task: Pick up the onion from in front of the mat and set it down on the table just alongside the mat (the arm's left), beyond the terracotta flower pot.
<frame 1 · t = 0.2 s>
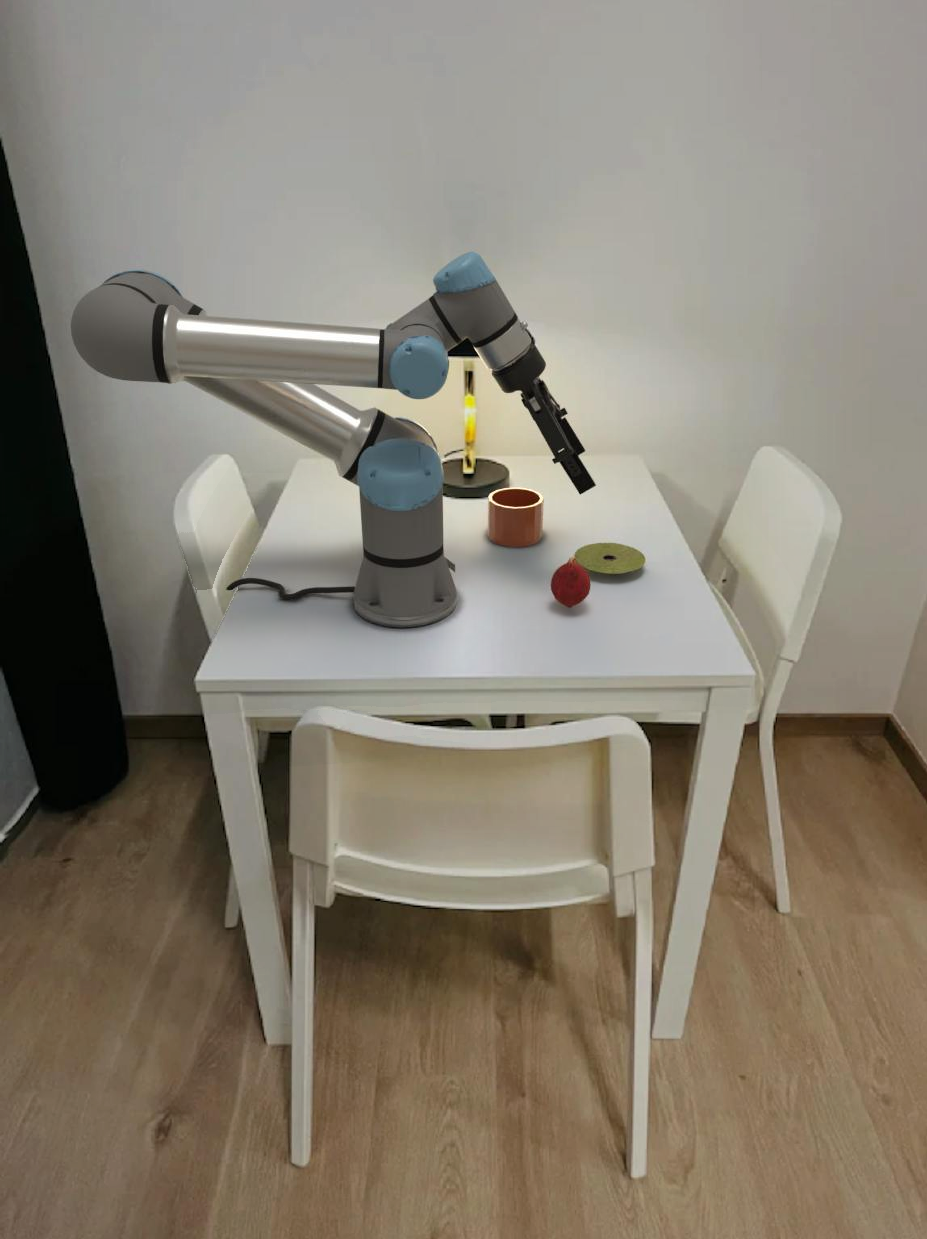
hand: (582, 471, 142), 15 cm above the table, tool tilted 35°, fingers open, 13 cm apart
onion: (569, 608, 135), on the table
mat: (608, 568, 146), on the table
flower pot: (514, 535, 157), on the table
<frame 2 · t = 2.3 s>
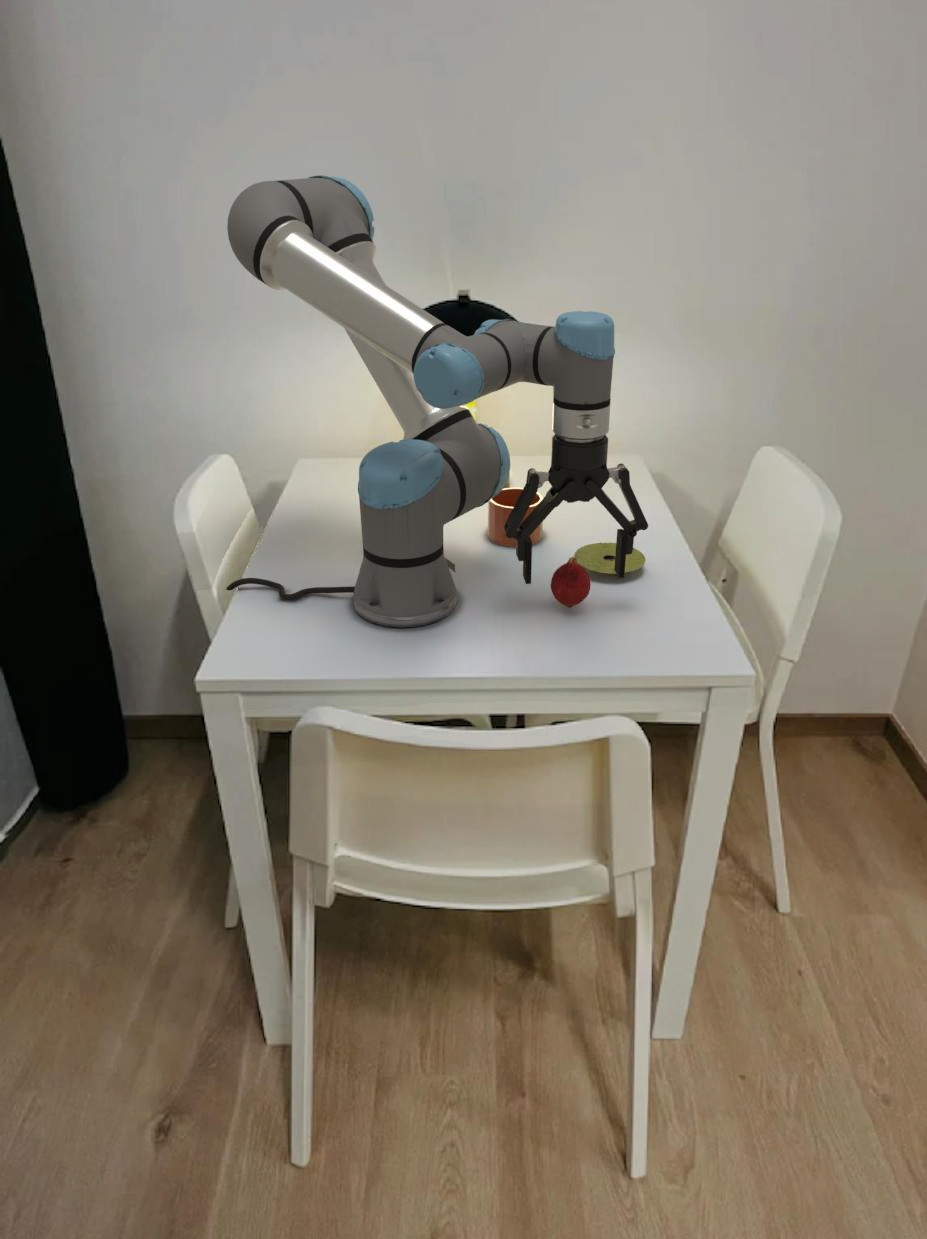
hand: (573, 577, 132), 5 cm above the table, tool pointing down, fingers open, 13 cm apart
nothing on the table moved.
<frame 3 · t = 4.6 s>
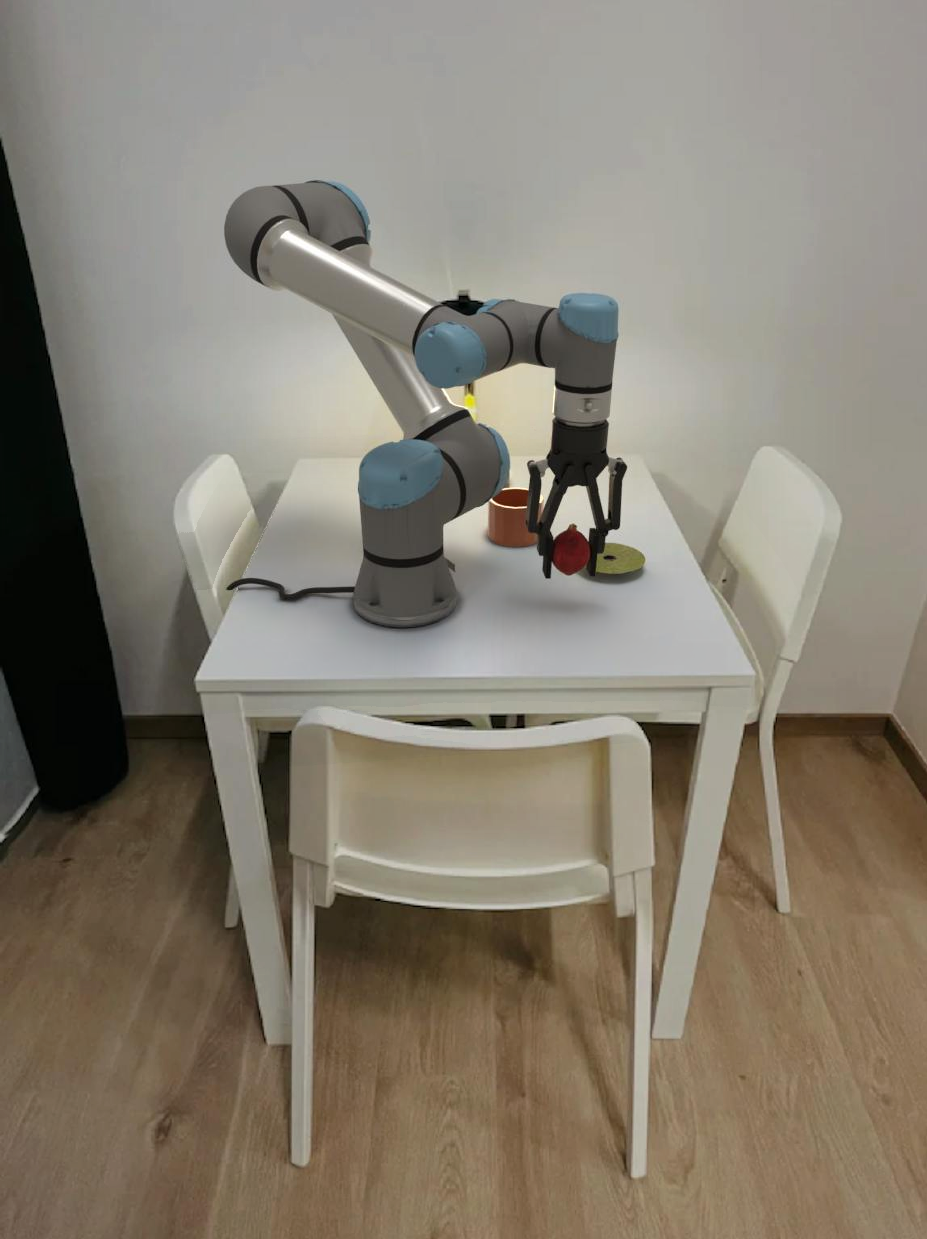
hand: (568, 573, 133), 5 cm above the table, tool pointing down, fingers closed on onion, 6 cm apart
onion: (568, 576, 133), point 5 cm above the table, touching gripper
everything else where it was.
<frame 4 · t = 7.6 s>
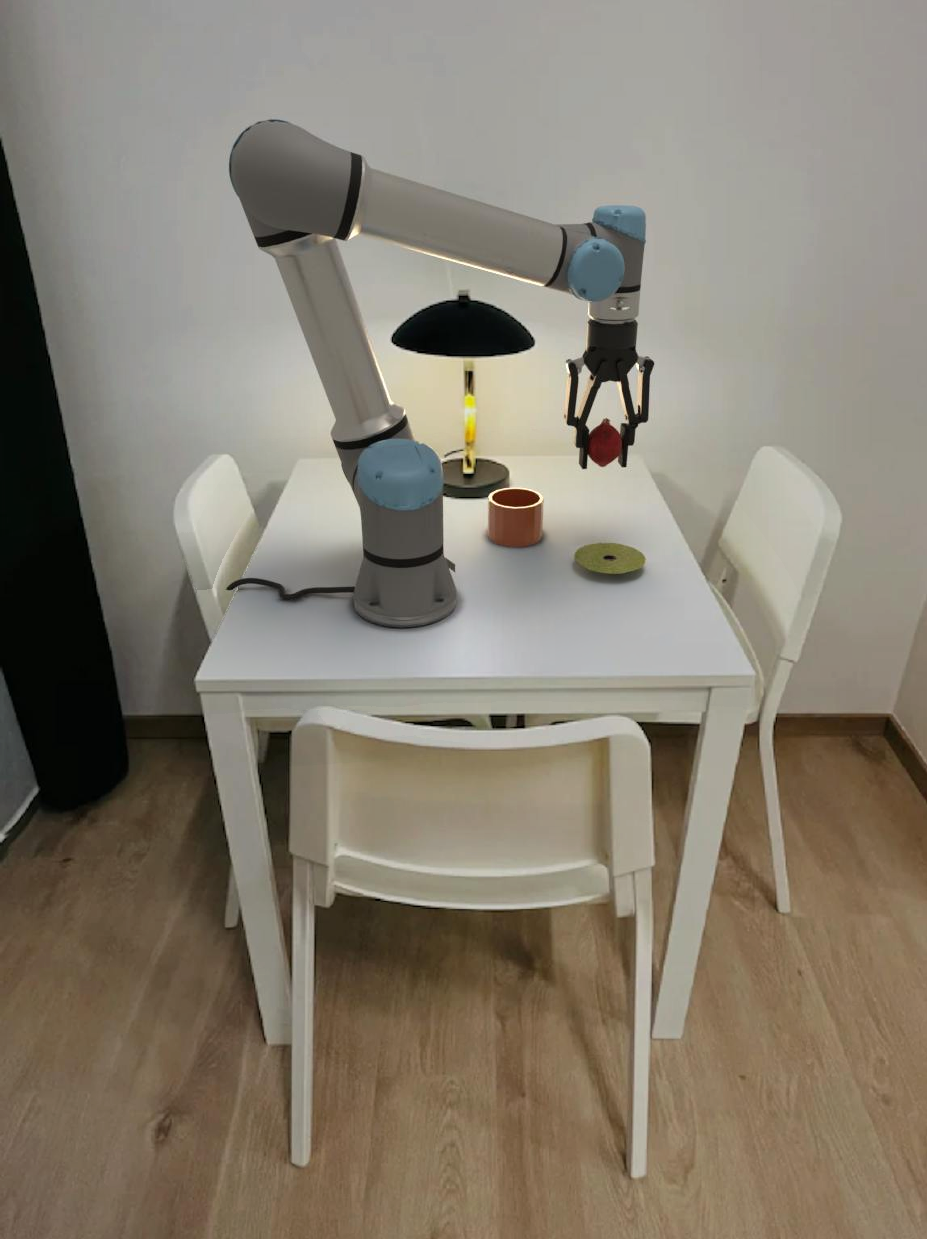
hand: (602, 465, 149), 13 cm above the table, tool pointing down, fingers closed on onion, 6 cm apart
onion: (602, 468, 149), point 13 cm above the table, touching gripper
everything else where it was.
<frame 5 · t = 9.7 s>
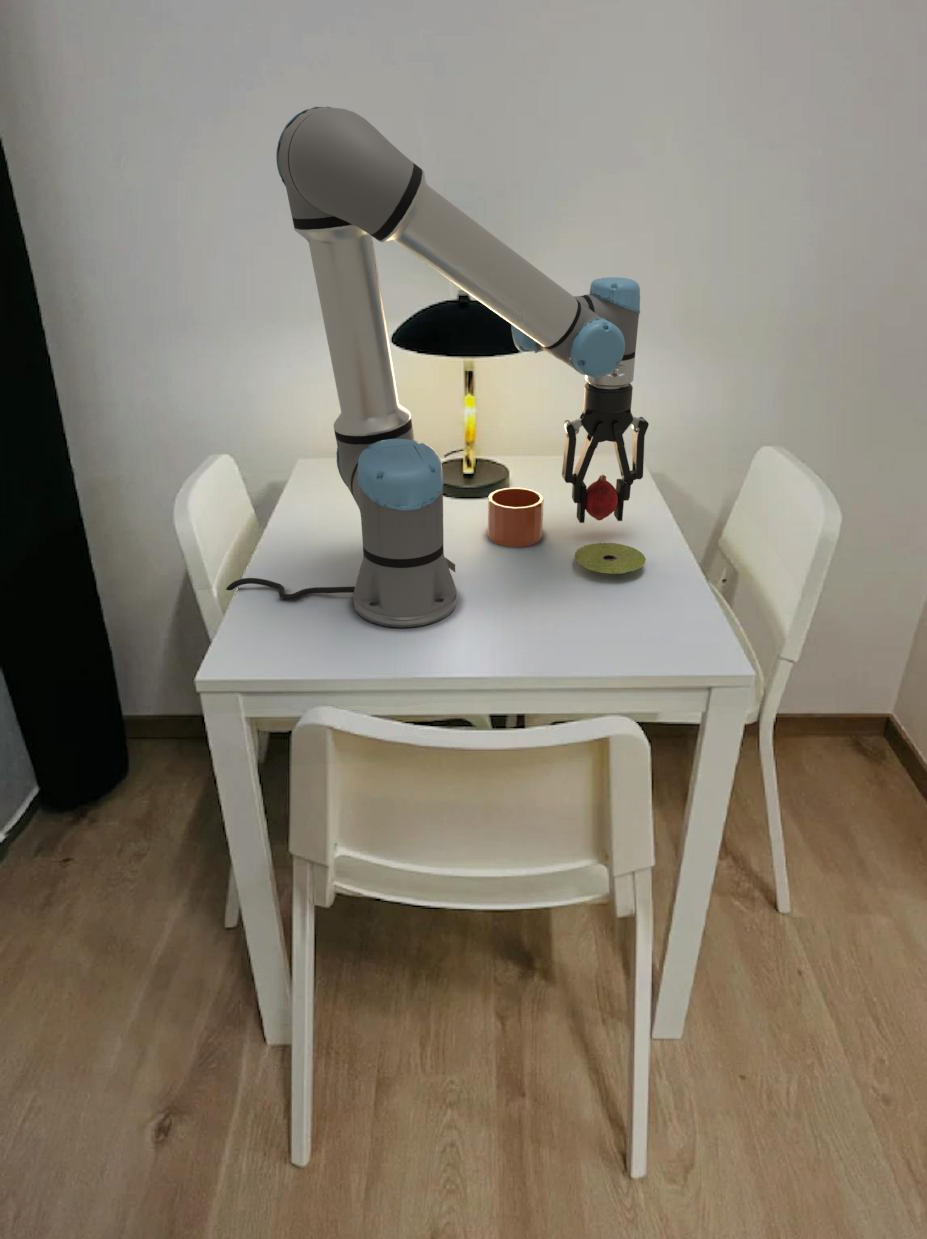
hand: (599, 518, 155), 3 cm above the table, tool pointing down, fingers closed on onion, 6 cm apart
onion: (599, 521, 155), point 3 cm above the table, touching gripper
everything else where it was.
when the fingers open (0 cm above the table, at t = 10.8 s): onion stays where it is, on the table.
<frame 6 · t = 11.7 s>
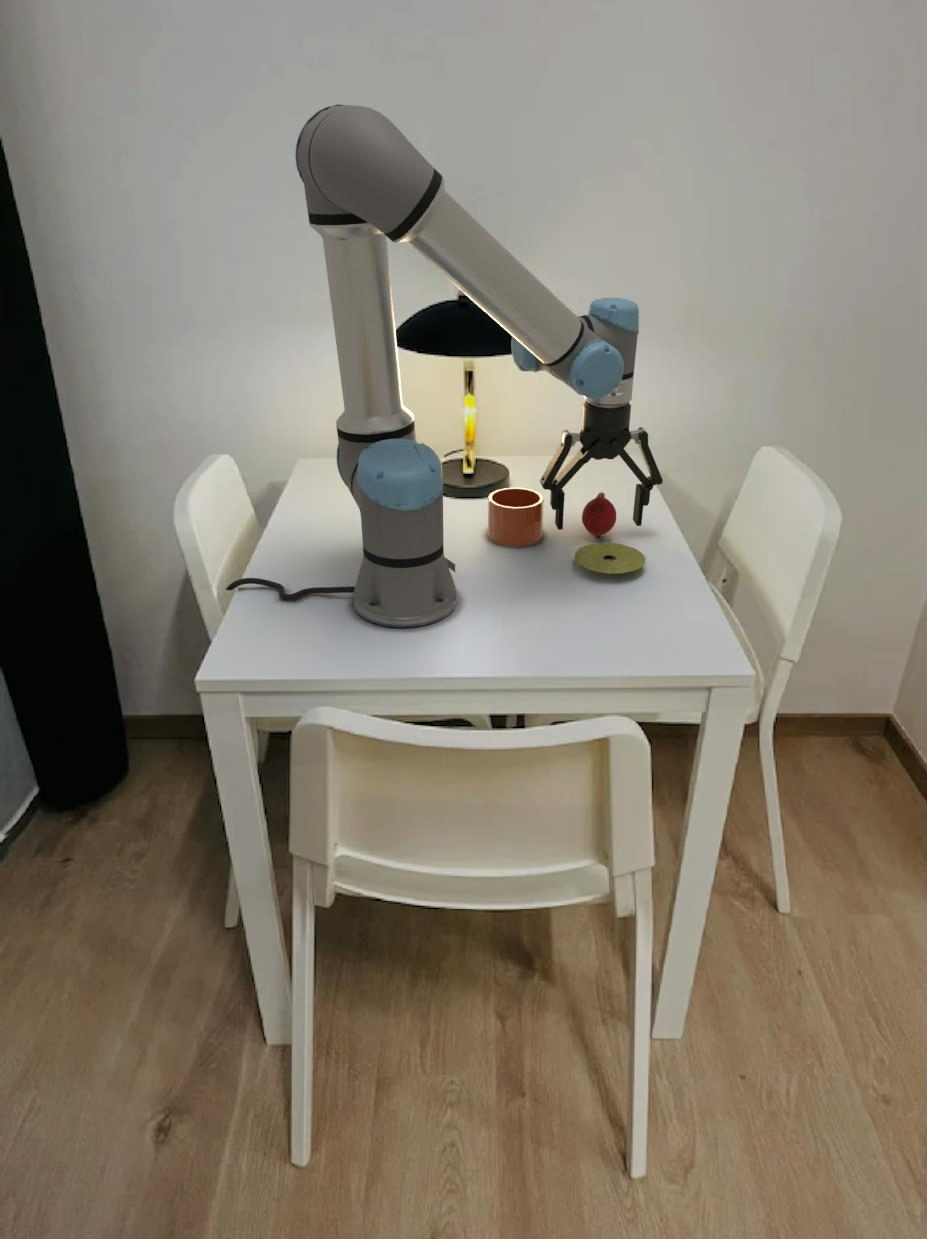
hand: (597, 524, 156), 2 cm above the table, tool pointing down, fingers open, 13 cm apart
onion: (597, 537, 157), on the table
everything else where it was.
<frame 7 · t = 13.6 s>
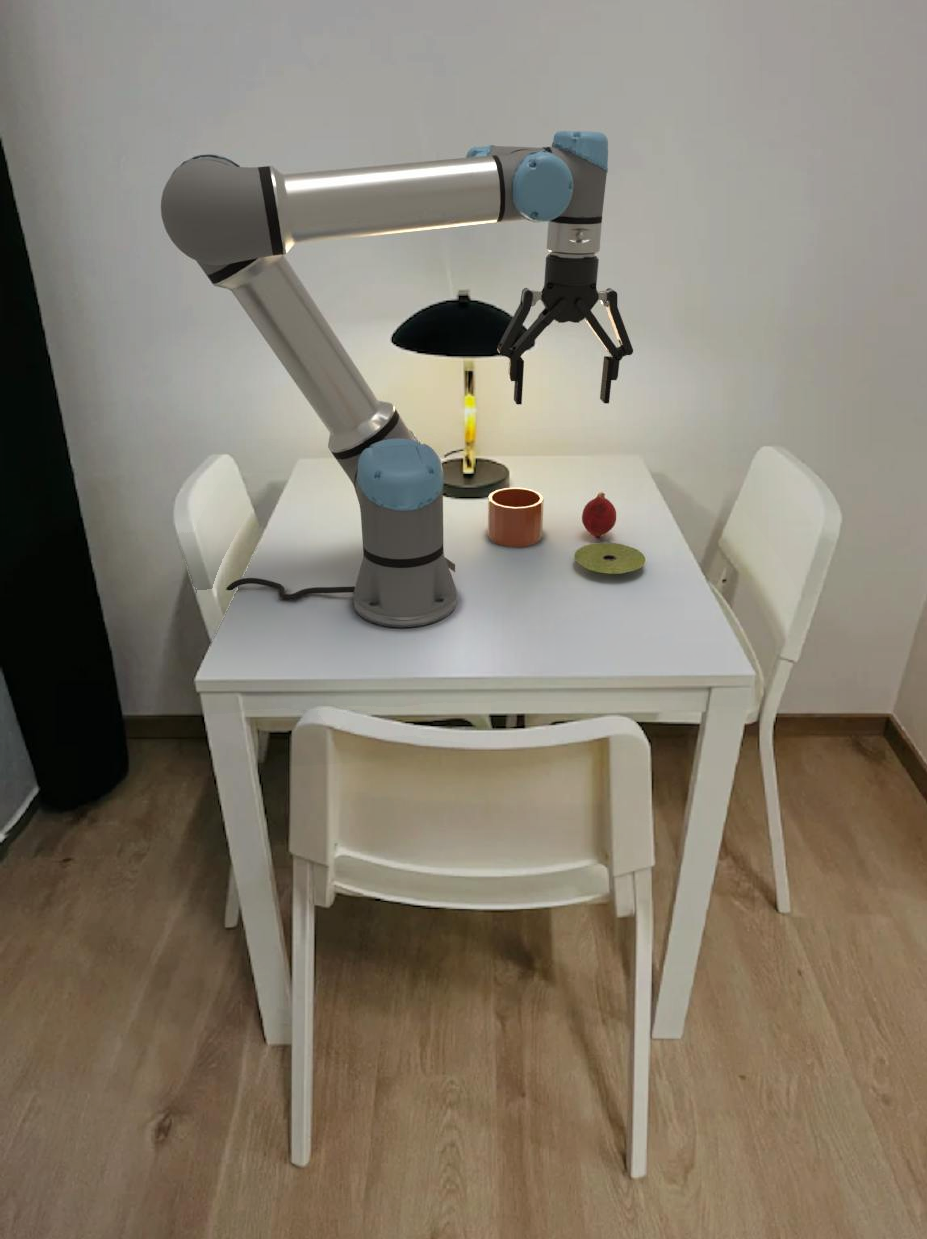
hand: (561, 401, 140), 25 cm above the table, tool pointing down, fingers open, 13 cm apart
nothing on the table moved.
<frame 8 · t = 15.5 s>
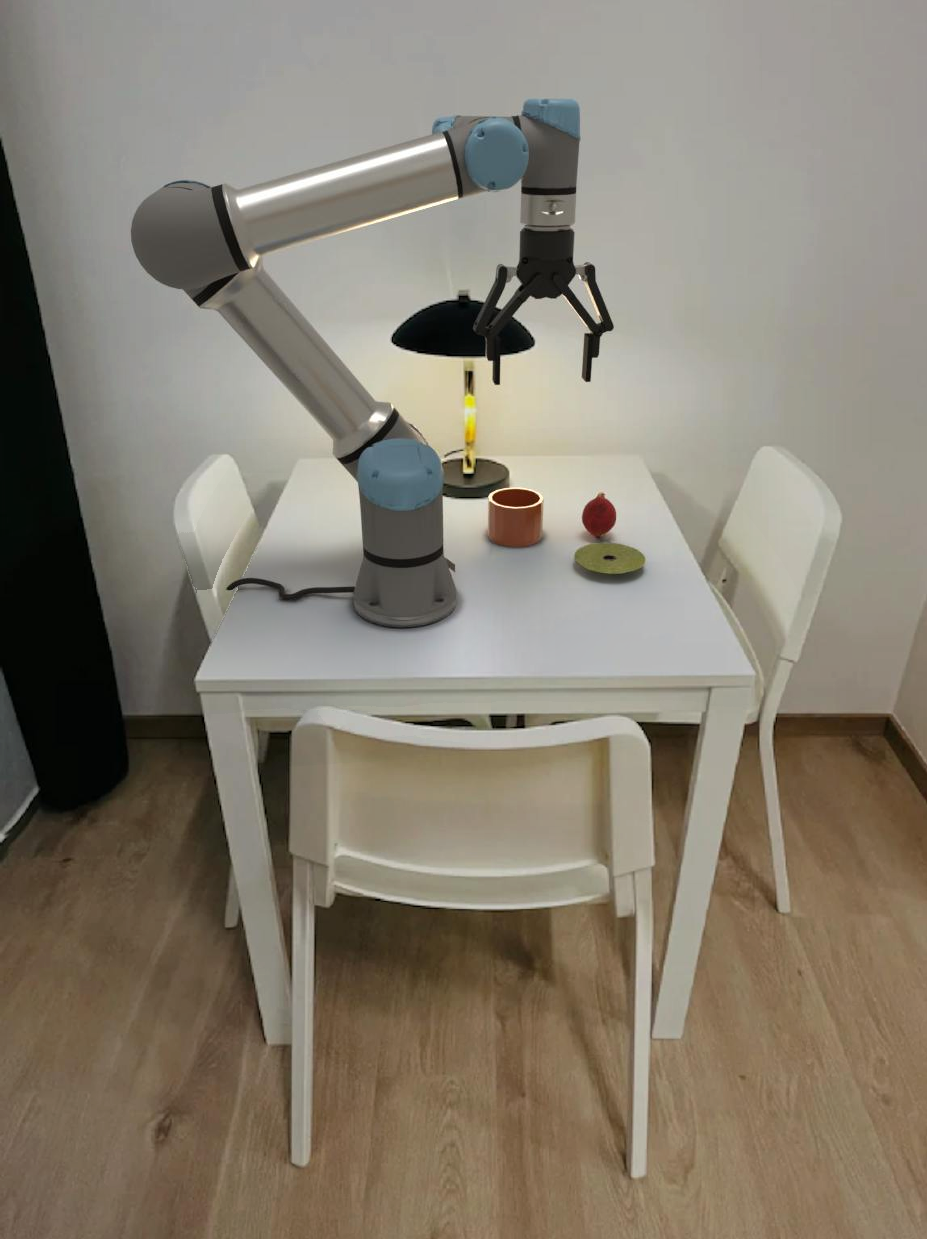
hand: (541, 381, 136), 29 cm above the table, tool pointing down, fingers open, 13 cm apart
nothing on the table moved.
at the end: onion inside the target area on the table beside the mat (1.0 cm from its centre), on the table; onion on the table; mat moved 0.2 cm from its start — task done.
